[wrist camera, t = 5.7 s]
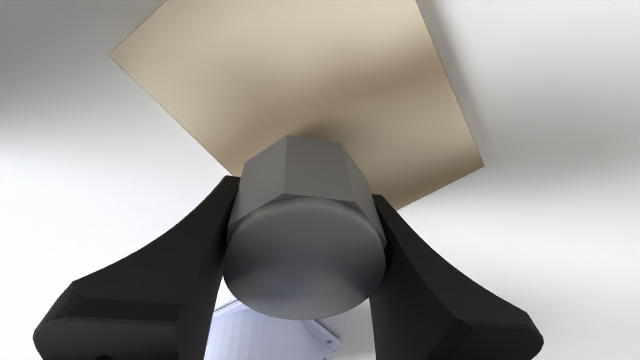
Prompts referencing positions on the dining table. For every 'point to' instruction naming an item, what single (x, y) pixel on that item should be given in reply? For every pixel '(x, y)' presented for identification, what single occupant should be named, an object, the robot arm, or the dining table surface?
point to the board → (308, 85)
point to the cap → (303, 232)
